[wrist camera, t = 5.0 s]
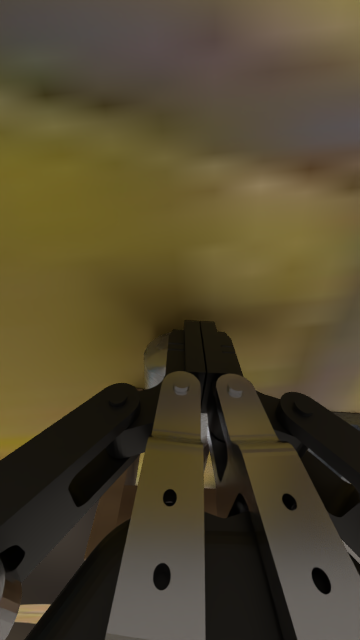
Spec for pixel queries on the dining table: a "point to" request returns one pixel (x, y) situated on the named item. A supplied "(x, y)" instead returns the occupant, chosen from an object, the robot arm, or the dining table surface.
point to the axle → (155, 374)
